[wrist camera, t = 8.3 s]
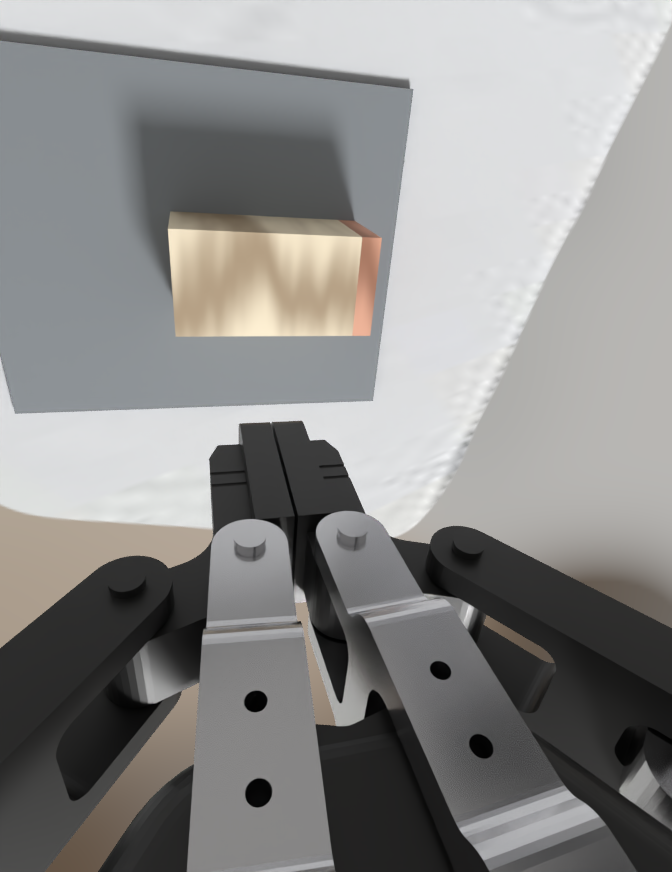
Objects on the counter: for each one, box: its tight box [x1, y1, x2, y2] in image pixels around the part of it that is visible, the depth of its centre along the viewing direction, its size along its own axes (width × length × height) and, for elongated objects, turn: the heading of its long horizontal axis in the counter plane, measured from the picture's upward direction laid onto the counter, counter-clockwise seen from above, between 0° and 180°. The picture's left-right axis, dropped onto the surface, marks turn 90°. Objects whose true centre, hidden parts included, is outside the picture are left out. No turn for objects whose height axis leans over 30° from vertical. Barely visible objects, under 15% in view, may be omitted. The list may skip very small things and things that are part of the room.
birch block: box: [168, 211, 382, 337], centre depth 28 cm, size 5×5×10 cm
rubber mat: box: [0, 41, 413, 414], centre depth 29 cm, size 18×22×1 cm
